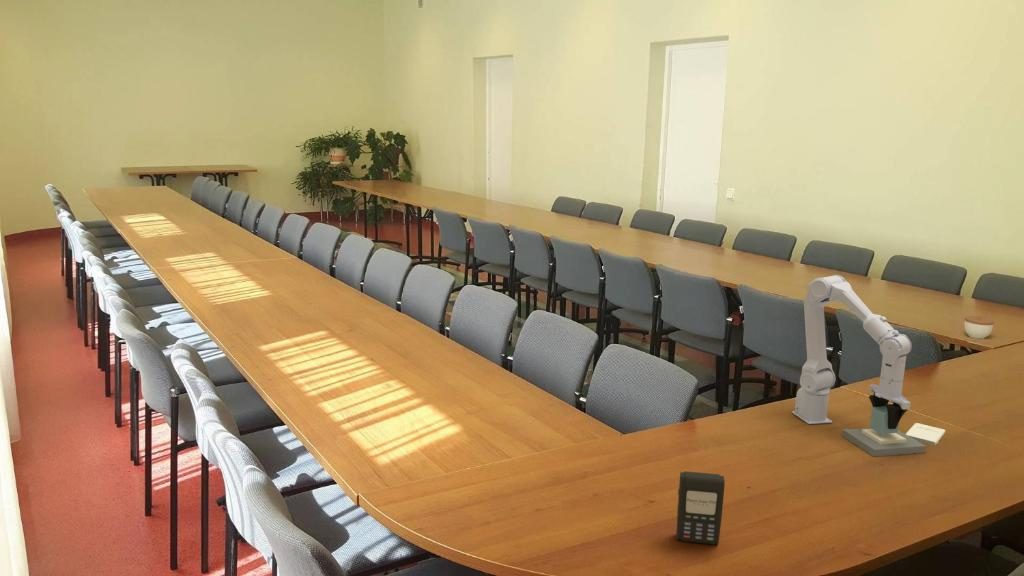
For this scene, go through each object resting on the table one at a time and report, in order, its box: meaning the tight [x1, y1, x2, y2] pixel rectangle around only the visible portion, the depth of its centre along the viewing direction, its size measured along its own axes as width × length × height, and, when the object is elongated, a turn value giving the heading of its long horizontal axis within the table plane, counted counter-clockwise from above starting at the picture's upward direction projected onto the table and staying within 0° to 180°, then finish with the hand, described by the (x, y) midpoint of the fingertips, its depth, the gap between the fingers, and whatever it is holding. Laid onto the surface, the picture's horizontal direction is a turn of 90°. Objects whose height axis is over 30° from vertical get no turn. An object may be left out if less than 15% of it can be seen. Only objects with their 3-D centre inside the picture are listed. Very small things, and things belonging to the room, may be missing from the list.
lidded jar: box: [964, 314, 995, 340], centre depth 332 cm, size 11×11×9 cm
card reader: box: [676, 471, 726, 545], centre depth 165 cm, size 9×4×15 cm, turn 81°
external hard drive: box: [905, 422, 946, 446], centre depth 226 cm, size 2×8×12 cm
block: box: [869, 406, 900, 434], centre depth 217 cm, size 5×5×6 cm
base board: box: [841, 427, 927, 457], centre depth 218 cm, size 14×16×3 cm
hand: (885, 424), depth 217 cm, fingers closed on block, 5 cm apart
